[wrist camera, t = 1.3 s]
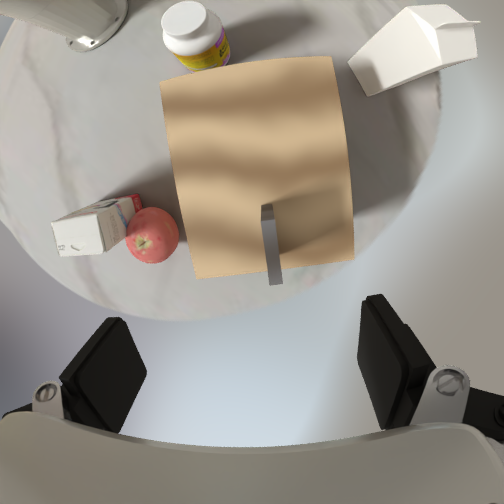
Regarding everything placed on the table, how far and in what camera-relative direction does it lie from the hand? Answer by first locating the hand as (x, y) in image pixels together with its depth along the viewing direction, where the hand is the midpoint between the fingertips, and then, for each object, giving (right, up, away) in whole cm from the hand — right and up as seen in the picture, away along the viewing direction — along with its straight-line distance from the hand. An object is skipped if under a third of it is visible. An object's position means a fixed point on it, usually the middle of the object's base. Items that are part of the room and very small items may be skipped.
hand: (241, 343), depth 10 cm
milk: (+18, +29, +20) cm, 39 cm away
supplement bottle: (-6, +31, +21) cm, 37 cm away
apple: (-13, +7, +29) cm, 33 cm away
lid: (+1, +11, +14) cm, 18 cm away
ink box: (-20, +10, +29) cm, 36 cm away
